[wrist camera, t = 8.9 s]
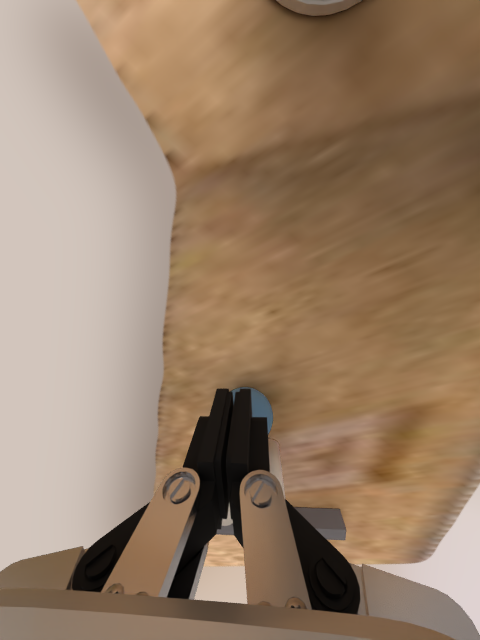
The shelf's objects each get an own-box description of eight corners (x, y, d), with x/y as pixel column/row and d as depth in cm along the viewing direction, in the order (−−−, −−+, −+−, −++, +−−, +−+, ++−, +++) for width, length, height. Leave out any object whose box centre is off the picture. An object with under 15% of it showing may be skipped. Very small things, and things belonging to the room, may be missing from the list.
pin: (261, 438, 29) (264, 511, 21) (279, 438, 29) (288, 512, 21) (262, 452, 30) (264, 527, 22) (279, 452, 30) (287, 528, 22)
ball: (217, 451, 25) (224, 399, 29) (272, 456, 25) (271, 401, 29) (208, 435, 21) (218, 376, 25) (274, 440, 20) (273, 378, 24)
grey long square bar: (173, 502, 34) (166, 522, 31) (339, 508, 32) (346, 529, 30) (174, 512, 34) (168, 532, 32) (338, 518, 33) (345, 540, 30)
